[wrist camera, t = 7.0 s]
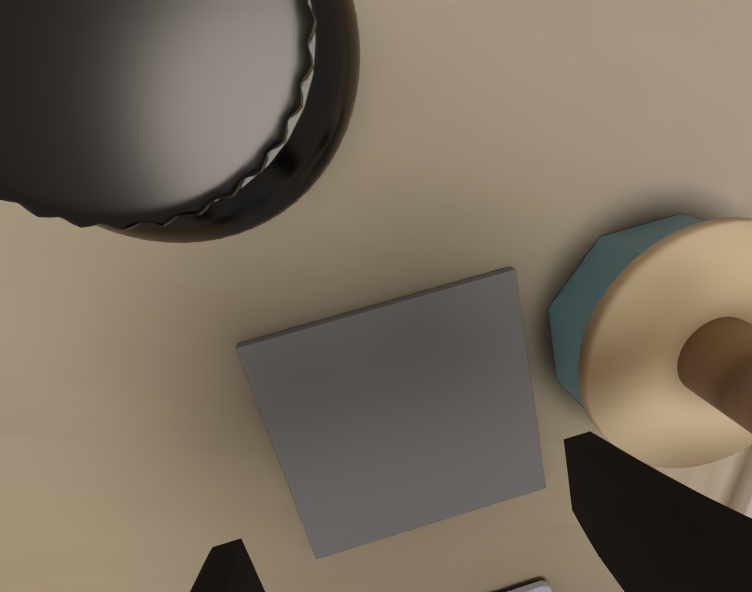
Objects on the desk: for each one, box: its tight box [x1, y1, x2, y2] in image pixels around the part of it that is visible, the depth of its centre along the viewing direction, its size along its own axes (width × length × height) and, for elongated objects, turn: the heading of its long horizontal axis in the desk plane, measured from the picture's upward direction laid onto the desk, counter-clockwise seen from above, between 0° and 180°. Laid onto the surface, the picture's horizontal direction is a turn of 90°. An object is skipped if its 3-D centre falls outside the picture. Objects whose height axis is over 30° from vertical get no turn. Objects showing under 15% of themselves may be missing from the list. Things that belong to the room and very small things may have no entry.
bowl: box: [548, 214, 706, 409], centre depth 21 cm, size 8×8×3 cm
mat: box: [236, 267, 546, 559], centre depth 22 cm, size 11×11×1 cm
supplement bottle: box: [0, 0, 360, 243], centre depth 11 cm, size 7×7×12 cm
